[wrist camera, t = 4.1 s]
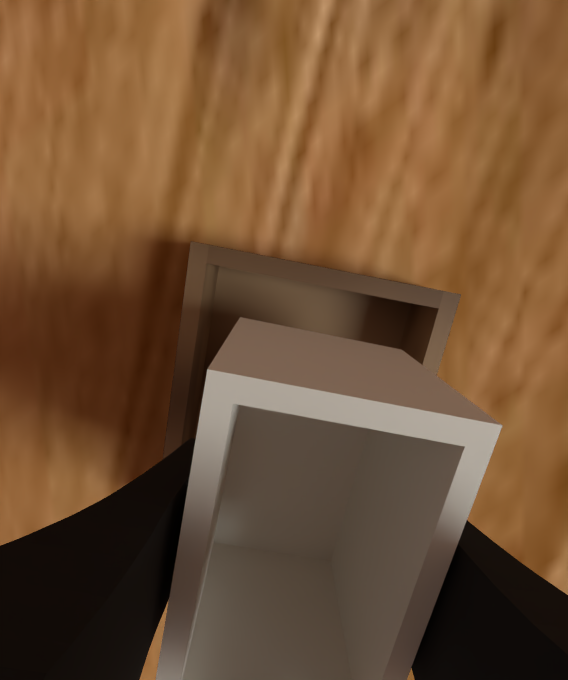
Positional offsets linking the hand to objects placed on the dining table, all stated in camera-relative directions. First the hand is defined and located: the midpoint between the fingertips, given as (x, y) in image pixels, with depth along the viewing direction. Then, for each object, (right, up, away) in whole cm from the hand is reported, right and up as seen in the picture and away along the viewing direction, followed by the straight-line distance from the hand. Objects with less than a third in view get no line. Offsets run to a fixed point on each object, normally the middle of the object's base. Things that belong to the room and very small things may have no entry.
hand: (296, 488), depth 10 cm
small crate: (0, +1, +2) cm, 2 cm away
